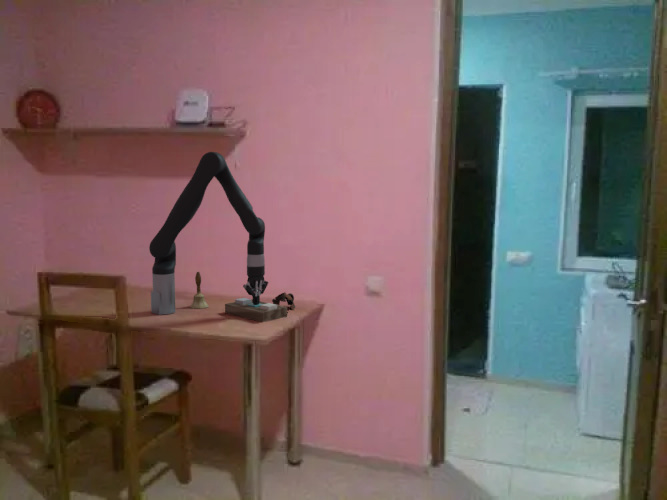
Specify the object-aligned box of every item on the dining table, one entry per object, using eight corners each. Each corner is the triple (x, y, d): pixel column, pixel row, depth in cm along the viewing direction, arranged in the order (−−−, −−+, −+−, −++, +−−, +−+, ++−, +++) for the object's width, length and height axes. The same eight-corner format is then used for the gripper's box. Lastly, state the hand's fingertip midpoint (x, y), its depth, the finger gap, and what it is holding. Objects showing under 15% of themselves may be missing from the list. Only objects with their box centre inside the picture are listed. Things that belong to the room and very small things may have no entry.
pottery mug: (291, 312, 270) (281, 297, 269) (275, 319, 275) (266, 304, 274) (303, 301, 280) (293, 285, 279) (287, 307, 285) (278, 292, 284)
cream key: (268, 311, 254) (268, 306, 254) (260, 310, 258) (260, 304, 257) (277, 309, 258) (277, 304, 258) (268, 308, 261) (268, 303, 261)
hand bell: (193, 309, 272) (192, 274, 270) (187, 306, 279) (186, 271, 277) (211, 307, 276) (210, 272, 274) (204, 304, 283) (204, 270, 281)
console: (263, 322, 251) (263, 312, 250) (225, 312, 266) (224, 303, 265) (287, 316, 261) (287, 307, 261) (249, 307, 276) (249, 299, 276)
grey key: (242, 306, 265) (242, 301, 264) (235, 304, 268) (235, 299, 268) (251, 304, 268) (251, 299, 268) (243, 302, 272) (243, 297, 271)
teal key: (255, 311, 260) (255, 306, 259) (247, 309, 263) (247, 304, 263) (264, 309, 264) (264, 304, 263) (256, 307, 267) (256, 302, 266)
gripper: (261, 262, 268) (261, 300, 270) (238, 265, 258) (238, 305, 260) (273, 263, 263) (273, 303, 266) (250, 267, 253) (250, 308, 256)
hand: (256, 304), depth 263 cm, fingers closed
